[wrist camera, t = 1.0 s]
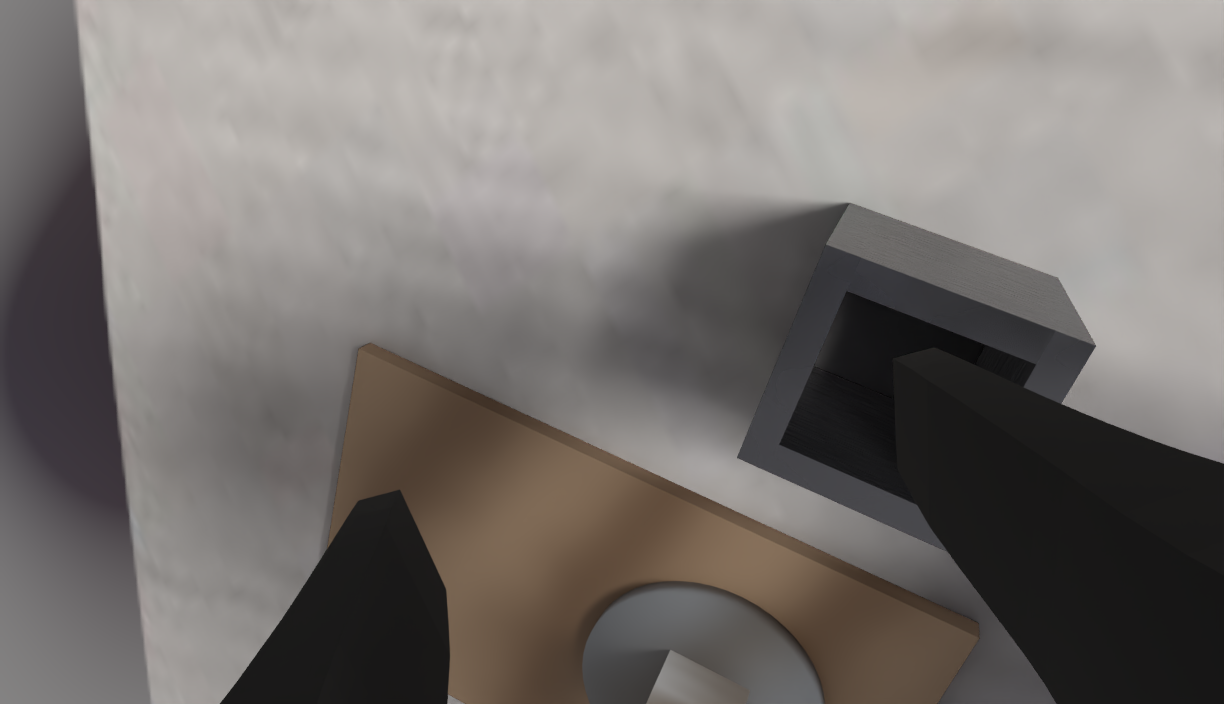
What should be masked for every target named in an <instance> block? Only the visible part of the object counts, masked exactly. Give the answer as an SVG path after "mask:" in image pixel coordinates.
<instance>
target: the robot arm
mask: <svg viewBox="0 0 1224 704" xmlns="http://www.w3.org/2000/svg"><path fill="white" fill-rule="evenodd" d="M893 379H894V403H895V427H896V451H897V469H898V471H899V473H900V475H901V476H902V478H903V480H904V482H905V484H906V486H907V488H908V489H909V491H910V493H911V495H912V497H913V499H914V501H915V502H916V504H917V506H918V508H919V509H920V511H921V513H922V514H923V516H924V518H925V520H926V521H927V523H928V525H929V527H930V528H931V529H932V531H933V532H934V534H935V535H936V536H937V538H938V539H939V540H940V542H941V543H942V545H943V546H944V547H945V549H946V550H947V551H948V553H949V554H950V555H951V557H952V558H953V559H954V561H955V562H956V564H957V565H958V566H959V568H960V569H961V570H962V572H963V573H964V574H965V576H966V577H967V578H968V580H969V581H970V582H971V584H972V585H973V586H974V588H975V589H976V590H977V592H978V593H979V594H980V596H981V597H982V598H983V600H984V601H985V602H986V604H987V605H988V606H989V608H990V609H991V610H992V612H993V613H994V614H995V616H996V617H997V618H998V620H999V621H1000V622H1001V624H1002V625H1003V626H1004V628H1005V629H1006V630H1007V632H1008V633H1009V634H1010V636H1011V637H1012V638H1013V640H1014V641H1015V642H1016V644H1017V645H1018V646H1019V648H1020V649H1021V650H1022V652H1023V653H1024V654H1025V656H1026V657H1027V659H1028V660H1029V662H1030V663H1031V665H1032V666H1033V668H1034V669H1035V670H1036V672H1037V673H1038V675H1039V676H1040V678H1041V679H1042V681H1043V682H1044V684H1045V685H1046V687H1047V688H1048V690H1049V692H1050V693H1051V695H1052V697H1053V698H1054V700H1055V702H1056V703H1057V704H1224V464H1223V463H1220V462H1216V461H1213V460H1210V459H1207V458H1204V457H1200V456H1197V455H1194V454H1191V453H1188V452H1185V451H1182V450H1179V449H1176V448H1173V447H1170V446H1167V445H1164V444H1161V443H1159V442H1156V441H1153V440H1150V439H1148V438H1145V437H1143V436H1140V435H1137V434H1135V433H1132V432H1129V431H1127V430H1124V429H1121V428H1119V427H1116V426H1114V425H1111V424H1108V423H1106V422H1103V421H1101V420H1098V419H1096V418H1093V417H1091V416H1089V415H1086V414H1084V413H1081V412H1079V411H1076V410H1074V409H1072V408H1069V407H1067V406H1065V405H1062V404H1060V403H1058V402H1055V401H1053V400H1051V399H1049V398H1046V397H1044V396H1042V395H1040V394H1037V393H1035V392H1033V391H1031V390H1028V389H1026V388H1024V387H1022V386H1020V385H1017V384H1015V383H1013V382H1011V381H1009V380H1006V379H1004V378H1002V377H1000V376H998V375H996V374H993V373H991V372H989V371H987V370H985V369H983V368H980V367H978V366H976V365H974V364H972V363H969V362H967V361H965V360H963V359H961V358H958V357H956V356H954V355H951V354H949V353H947V352H944V351H942V350H939V349H937V348H930V349H926V350H922V351H918V352H915V353H911V354H907V355H903V356H900V357H896V358H893ZM449 668H450V641H449V621H448V607H447V592H446V588H445V586H444V583H443V581H442V579H441V577H440V575H439V573H438V570H437V568H436V566H435V564H434V562H433V560H432V557H431V555H430V553H429V551H428V549H427V547H426V544H425V542H424V540H423V538H422V536H421V534H420V532H419V529H418V527H417V525H416V523H415V521H414V519H413V516H412V514H411V512H410V510H409V508H408V506H407V503H406V501H405V499H404V497H403V495H402V493H401V491H400V490H396V491H392V492H389V493H385V494H381V495H377V496H374V497H370V498H366V499H362V500H358V502H357V503H356V505H355V506H354V508H353V509H352V511H351V512H350V514H349V515H348V517H347V518H346V520H345V522H344V523H343V525H342V526H341V528H340V529H339V531H338V533H337V534H336V536H335V537H334V539H333V541H332V542H331V544H330V545H329V547H328V549H327V550H326V552H325V553H324V555H323V557H322V558H321V560H320V561H319V563H318V565H317V566H316V568H315V569H314V571H313V572H312V574H311V576H310V577H309V579H308V580H307V582H306V583H305V585H304V586H303V588H302V589H301V591H300V593H299V594H298V596H297V597H296V599H295V600H294V602H293V603H292V605H291V606H290V608H289V609H288V611H287V612H286V614H285V615H284V617H283V618H282V620H281V621H280V623H279V624H278V625H277V627H276V628H275V630H274V631H273V632H272V634H271V635H270V637H269V638H268V639H267V641H266V642H265V644H264V645H263V646H262V648H261V649H260V650H259V652H258V653H257V655H256V656H255V657H254V659H253V660H252V662H251V663H250V664H249V666H248V667H247V669H246V670H245V671H244V673H243V674H242V676H241V677H240V678H239V680H238V681H237V682H236V684H235V685H234V686H233V688H232V689H231V690H230V691H229V693H228V694H227V695H226V697H225V698H224V699H223V700H222V702H221V703H220V704H447V699H448V684H449Z"/></svg>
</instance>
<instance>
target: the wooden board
mask: <svg viewBox="0 0 1224 704" xmlns="http://www.w3.org/2000/svg"><path fill="white" fill-rule="evenodd" d="M396 490H400V491H401V493H402V495H403V497H404V499H405V501H406V503H407V506H408V508H409V510H410V512H411V514H412V516H413V519H414V521H415V523H416V525H417V527H418V529H419V532H420V534H421V536H422V538H423V540H424V542H425V544H426V547H427V549H428V551H429V553H430V555H431V557H432V560H433V562H434V564H435V566H436V568H437V570H438V573H439V575H440V577H441V579H442V581H443V583H444V586H445V588H446V592H447V607H448V621H449V641H450V668H449V684H448V694H449V695H451V696H452V697H454V698H456V699H458V700H459V701H461V702H463V703H465V704H937V703H938V702H939V700H940V699H941V697H942V696H943V694H944V692H945V691H946V689H947V688H948V686H949V685H950V683H951V682H952V680H953V678H954V677H955V675H956V674H957V672H958V671H959V669H960V668H961V666H962V665H963V663H964V661H965V660H966V658H967V657H968V655H969V654H970V652H971V651H972V649H973V648H974V646H975V644H976V643H977V641H978V640H979V638H980V637H979V623H977V622H975V621H973V620H970V619H968V618H966V617H964V616H962V615H960V614H957V613H955V612H953V611H951V610H949V609H947V608H944V607H942V606H940V605H938V604H936V603H934V602H931V601H929V600H927V599H925V598H923V597H920V596H918V595H916V594H914V593H912V592H910V591H907V590H905V589H903V588H901V587H899V586H897V585H894V584H892V583H890V582H888V581H886V580H884V579H881V578H879V577H877V576H875V575H873V574H871V573H868V572H866V571H864V570H862V569H860V568H858V567H855V566H853V565H851V564H849V563H847V562H845V561H842V560H840V559H838V558H836V557H834V556H831V555H829V554H827V553H825V552H823V551H821V550H818V549H816V548H814V547H812V546H810V545H808V544H805V543H803V542H801V541H799V540H797V539H795V538H792V537H790V536H788V535H786V534H784V533H782V532H779V531H777V530H775V529H773V528H771V527H769V526H766V525H764V524H762V523H760V522H758V521H756V520H753V519H751V518H749V517H747V516H745V515H743V514H740V513H738V512H736V511H734V510H732V509H729V508H727V507H725V506H723V505H721V504H719V503H716V502H714V501H712V500H710V499H708V498H706V497H703V496H701V495H699V494H697V493H695V492H693V491H690V490H688V489H686V488H684V487H682V486H680V485H677V484H675V483H673V482H671V481H669V480H667V479H664V478H662V477H660V476H658V475H656V474H654V473H651V472H649V471H647V470H645V469H643V468H640V467H638V466H636V465H634V464H632V463H630V462H627V461H625V460H623V459H621V458H619V457H617V456H614V455H612V454H610V453H608V452H606V451H604V450H601V449H599V448H597V447H595V446H593V445H591V444H588V443H586V442H584V441H582V440H580V439H578V438H575V437H573V436H571V435H569V434H567V433H565V432H562V431H560V430H558V429H556V428H554V427H552V426H549V425H547V424H545V423H543V422H541V421H538V420H536V419H534V418H532V417H530V416H528V415H525V414H523V413H521V412H519V411H517V410H515V409H512V408H510V407H508V406H506V405H504V404H502V403H499V402H497V401H495V400H493V399H491V398H489V397H486V396H484V395H482V394H480V393H478V392H476V391H473V390H471V389H469V388H467V387H465V386H463V385H460V384H458V383H456V382H454V381H452V380H449V379H447V378H445V377H443V376H441V375H439V374H436V373H434V372H432V371H430V370H428V369H426V368H423V367H421V366H419V365H417V364H415V363H413V362H410V361H408V360H406V359H404V358H402V357H400V356H397V355H395V354H393V353H391V352H389V351H387V350H384V349H382V348H380V347H378V346H376V345H374V344H371V343H369V344H367V345H365V346H363V347H361V348H359V349H358V355H357V362H356V368H355V374H354V381H353V387H352V393H351V400H350V406H349V413H348V419H347V425H346V432H345V438H344V444H343V451H342V457H341V463H340V470H339V476H338V482H337V489H336V495H335V501H334V508H333V514H332V521H331V527H330V533H329V540H328V546H327V549H328V547H329V545H330V544H331V542H332V541H333V539H334V537H335V536H336V534H337V533H338V531H339V529H340V528H341V526H342V525H343V523H344V522H345V520H346V518H347V517H348V515H349V514H350V512H351V511H352V509H353V508H354V506H355V505H356V503H357V502H358V500H362V499H366V498H370V497H374V496H377V495H381V494H385V493H389V492H392V491H396Z"/></svg>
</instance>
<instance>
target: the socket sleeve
mask: <svg viewBox="0 0 1224 704" xmlns="http://www.w3.org/2000/svg"><path fill="white" fill-rule="evenodd" d="M846 291H848V292H850V293H853V294H855V295H858V296H861V297H863V298H866V299H868V300H871V301H874V302H876V303H879V304H881V305H884V306H887V307H889V308H892V309H894V310H897V311H899V312H902V313H905V314H907V315H910V316H912V317H915V318H918V319H920V320H923V321H925V322H928V323H931V324H933V325H936V326H938V327H941V328H943V329H946V330H949V331H951V332H954V333H956V334H959V335H962V336H964V337H967V338H969V339H972V340H975V341H977V342H980V343H982V344H985V347H984V349H983V351H982V352H981V354H980V356H979V358H978V360H977V362H976V364H975V365H976V366H978V367H980V368H983V369H985V370H987V371H989V372H991V373H993V374H996V375H998V376H1000V377H1002V378H1004V379H1006V380H1009V381H1011V382H1013V383H1015V384H1017V385H1020V386H1022V387H1024V388H1026V389H1028V390H1031V391H1033V392H1035V393H1037V394H1040V395H1042V396H1044V397H1046V398H1049V399H1051V400H1053V401H1055V402H1058V403H1060V404H1061V403H1062V402H1063V400H1064V398H1065V397H1066V395H1067V393H1068V392H1069V390H1070V388H1071V387H1072V385H1073V383H1074V382H1075V380H1076V378H1077V377H1078V375H1079V373H1080V372H1081V370H1082V368H1083V367H1084V365H1085V363H1086V362H1087V360H1088V358H1089V357H1090V355H1091V353H1092V352H1093V350H1094V348H1095V347H1096V345H1095V343H1094V341H1093V339H1092V338H1091V336H1090V334H1089V332H1088V331H1087V329H1086V327H1085V325H1084V323H1083V322H1082V320H1081V318H1080V316H1079V315H1078V313H1077V311H1076V309H1075V307H1074V306H1073V304H1072V302H1071V300H1070V299H1069V297H1068V295H1067V293H1066V291H1065V290H1064V288H1063V286H1062V284H1061V282H1060V281H1059V279H1058V278H1057V277H1054V276H1051V275H1048V274H1046V273H1043V272H1040V271H1037V270H1035V269H1032V268H1029V267H1026V266H1023V265H1021V264H1018V263H1015V262H1012V261H1010V260H1007V259H1004V258H1001V257H999V256H996V255H993V254H990V253H987V252H985V251H982V250H979V249H976V248H974V247H971V246H968V245H965V244H963V243H960V242H957V241H954V240H952V239H949V238H946V237H943V236H940V235H938V234H935V233H932V232H929V231H927V230H924V229H921V228H918V227H916V226H913V225H910V224H907V223H904V222H902V221H899V220H896V219H893V218H891V217H888V216H885V215H882V214H880V213H877V212H874V211H871V210H869V209H866V208H863V207H860V206H857V205H855V204H852V203H849V205H848V207H847V209H846V210H845V212H844V214H843V215H842V217H841V219H840V221H839V222H838V224H837V226H836V228H835V229H834V231H833V233H832V234H831V236H830V238H829V240H828V241H827V243H826V245H825V247H824V250H823V252H822V254H821V257H820V259H819V262H818V264H817V267H816V269H815V271H814V274H813V276H812V279H811V281H810V283H809V286H808V288H807V291H806V293H805V295H804V298H803V300H802V303H801V305H800V307H799V310H798V312H797V315H796V317H795V319H794V322H793V324H792V327H791V329H790V331H789V334H788V336H787V339H786V341H785V344H784V346H783V348H782V351H781V353H780V356H779V358H778V360H777V363H776V365H775V368H774V370H773V372H772V375H771V377H770V380H769V382H768V384H767V387H766V389H765V392H764V394H763V396H762V399H761V401H760V404H759V406H758V408H757V411H756V413H755V416H754V418H753V421H752V423H751V425H750V428H749V430H748V433H747V435H746V437H745V440H744V442H743V445H742V447H741V449H740V452H739V454H738V457H737V458H739V459H741V460H743V461H745V462H748V463H750V464H752V465H754V466H757V467H759V468H761V469H763V470H765V471H768V472H770V473H772V474H774V475H777V476H779V477H781V478H783V479H786V480H788V481H790V482H792V483H795V484H797V485H799V486H801V487H804V488H806V489H808V490H810V491H813V492H815V493H817V494H819V495H822V496H824V497H826V498H828V499H830V500H833V501H835V502H837V503H839V504H842V505H844V506H846V507H848V508H851V509H853V510H855V511H857V512H860V513H862V514H864V515H866V516H869V517H871V518H873V519H875V520H878V521H880V522H882V523H884V524H886V525H889V526H891V527H893V528H895V529H898V530H900V531H902V532H904V533H907V534H909V535H911V536H913V537H916V538H918V539H920V540H922V541H925V542H927V543H929V544H931V545H934V546H936V547H938V548H940V549H943V550H945V551H947V550H946V549H945V547H944V546H943V545H942V543H941V542H940V540H939V539H938V538H937V536H936V535H935V534H934V532H933V531H932V529H931V528H930V527H929V525H928V523H927V521H926V520H925V518H924V516H923V514H922V513H921V511H920V509H919V508H918V506H917V504H916V502H915V501H914V499H913V497H912V495H911V493H910V491H909V489H908V488H907V486H906V484H905V482H904V480H903V478H902V476H901V475H900V473H899V471H898V469H897V451H896V427H895V403H894V399H892V398H890V397H887V396H885V395H882V394H880V393H877V392H875V391H873V390H870V389H868V388H865V387H863V386H860V385H858V384H856V383H853V382H851V381H848V380H846V379H843V378H841V377H839V376H836V375H834V374H831V373H829V372H826V371H824V370H822V369H819V368H817V367H814V364H815V362H816V360H817V357H818V355H819V353H820V351H821V348H822V346H823V344H824V341H825V339H826V337H827V335H828V332H829V330H830V328H831V325H832V323H833V321H834V319H835V316H836V314H837V312H838V310H839V307H840V305H841V303H842V300H843V298H844V296H845V294H846ZM947 552H948V551H947Z"/></svg>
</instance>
